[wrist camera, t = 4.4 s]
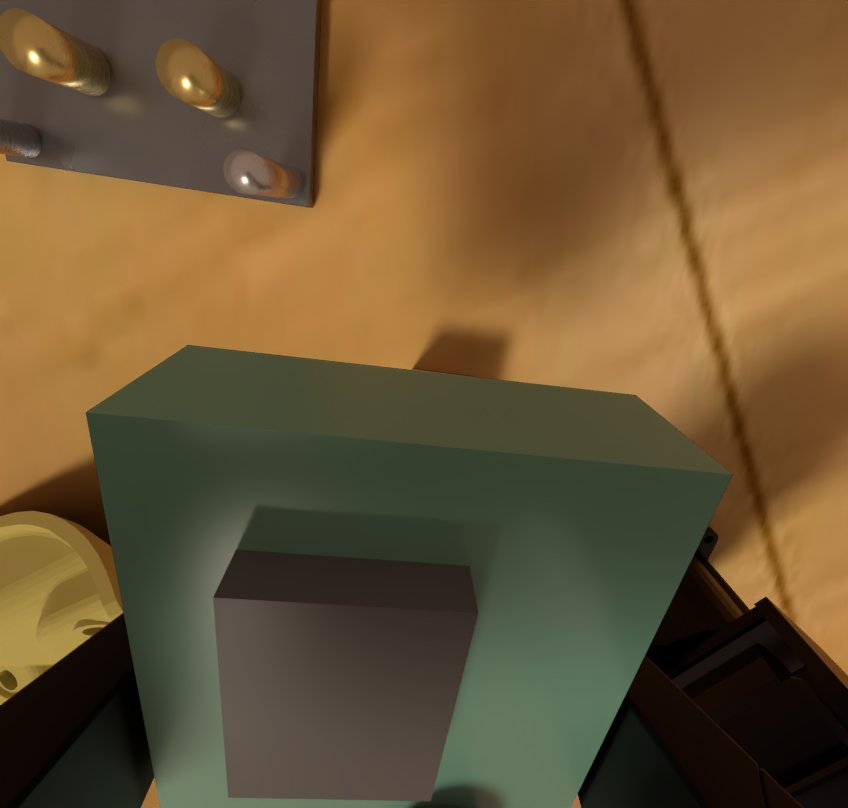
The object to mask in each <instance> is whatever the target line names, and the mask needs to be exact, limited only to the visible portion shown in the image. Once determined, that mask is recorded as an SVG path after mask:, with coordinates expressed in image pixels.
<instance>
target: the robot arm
mask: <svg viewBox="0 0 848 808" xmlns="http://www.w3.org/2000/svg"><path fill="white" fill-rule="evenodd" d="M705 537H706V538H705ZM717 541H718V535H717V534H716V533H715V531H714V530H713V529H712V528H710V527H707V529H706V531H705V533H704V535H703V537H702V539H701V541H700V543H699V546H698V548H697V550H696V552H695V554H694V556H693V558H692V560H691V562H690V564H689V566H688V568H687V570H686V572H685V574H684V576H683V578H682V580H681V582H680V584H679V587H678V589H677V591H676V593H675V595H674V597H673V599H672V601H671V603H670V605H669V607H668V609H667V611H666V613H665V615H664V617H663V619H662V621H661V623H660V625H659V628H658V630H657V632H656V634H655V636H654V638H653V640H652V642H651V644H650V646H649V648H648V650H647V652H646V654H645V656H644V658H643V660H642V662H641V664H640V666H639V669H638V671H637V673H636V675H635V677H634V679H633V681H632V683H631V685H630V687H629V689H628V691H627V693H626V695H625V697H624V699H623V701H622V703H621V705H620V707H619V710H618V712H617V714H616V716H615V718H614V720H613V722H612V724H611V726H610V728H609V730H608V732H607V734H606V736H605V738H604V740H603V742H602V744H601V746H600V748H599V751H598V753H597V755H596V757H595V759H594V761H593V763H592V765H591V767H590V769H589V771H588V773H587V775H586V777H585V779H584V781H583V783H582V785H581V787H580V789H579V792H578V797H579V800H580V804H581V808H848V676H847V675H846V674H845V672H844V671H843V670H842V669H841V668H840V667H839V666H838V665H837V664H836V663H835V662H834V661H833V660H832V659H831V658H830V657H829V656H828V655H827V654H826V653H825V652H824V651H823V650H822V649H821V648H820V647H819V646H818V645H817V644H816V643H815V642H814V641H813V640H812V639H811V638H810V637H809V636H808V635H806V634H805V633H804V632H803V631H802V630H801V629H800V628H799V627H798V626H797V625H796V624H795V623H794V622H793V621H792V620H790V619H789V618H788V617H787V616H786V615H785V614H784V613H783V612H782V611H781V610H780V609H779V608H778V607H777V606H776V605H775V604H773V603H772V602H771V601H770V600H769V599H768V598H767V597H765V598H763V599H761V600H760V601H758V602H757V603H755V604H754V605H755V606H756V607H754V608H753V609H751V610H750V609H749V608H748V607H747V606H746V605H745V604H744V602H743V601H742V600H741V599H740V598H739V597H738V595H737V594H736V593H735V592H734V591H733V590H732V588H731V587H730V586H729V585H728V584H727V582H726V581H725V580H724V579H723V578H722V577H721V575H720V574H719V573H718V572H717V571H716V570H715V568H714V567H713V566H712V565H711V564H710V563H709V561H708V558H709V556H710V554H711V552H712V551H713V549H714V547H715V545H716V543H717ZM153 779H154V772H153V766H152V761H151V756H150V751H149V745H148V740H147V735H146V729H145V724H144V719H143V713H142V708H141V703H140V697H139V692H138V687H137V682H136V676H135V671H134V666H133V660H132V655H131V650H130V644H129V639H128V634H127V628H126V623H125V618H124V613H122V614H120V615H119V616H118V617H116V618H115V619H114V620H112V621H111V622H110V623H109V624H107V625H106V626H105V627H103V628H102V629H101V630H99V631H98V632H97V633H95V634H94V635H93V636H91V637H90V638H89V639H87V640H86V641H85V642H83V643H82V644H81V645H79V646H78V647H77V648H75V649H74V650H73V651H71V652H70V653H69V654H67V655H66V656H65V657H63V658H62V659H61V660H59V661H58V662H57V663H55V664H54V665H53V666H51V667H50V668H49V669H48V670H46V671H45V672H44V673H42V674H41V675H40V676H38V677H37V678H36V679H34V680H33V681H32V682H30V683H29V684H28V685H26V686H25V687H24V688H22V689H21V690H20V691H18V692H17V693H16V694H14V695H13V696H12V697H10V698H9V699H8V700H6V701H5V702H4V703H2V704H1V705H0V808H141V806H142V803H143V801H144V799H145V797H146V794H147V792H148V790H149V788H150V785H151V783H152V781H153Z"/></svg>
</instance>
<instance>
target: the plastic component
mask: <svg viewBox="0 0 848 808" xmlns="http://www.w3.org/2000/svg"><path fill="white" fill-rule="evenodd" d="M122 613H123V607H122V602H121V597H120V591H119V586H118V581H117V575H116V570H115V565H114V559H113V554H112V549H111V546H110V545H108V544H107V543H105V542H104V541H103V540H101V539H100V538H98V537H97V536H96V535H94V534H93V533H92V532H90V531H89V530H87V529H86V528H84V527H82V526H81V525H79V524H77V523H74V522H72V521H69V520H67V519H64V518H61V517H58V516H55V515H52V514H48V513H42V512H37V511H24V512H14V513H10V514H7V515H3V516H0V705H1V704H2V703H4V702H5V701H6V700H8V699H9V698H10V697H12V696H13V695H14V694H16V693H17V692H18V691H20V690H21V689H22V688H24V687H25V686H26V685H28V684H29V683H30V682H32V681H33V680H34V679H36V678H37V677H38V676H40V675H41V674H42V673H44V672H45V671H46V670H48V669H49V668H50V667H51V666H53V665H54V664H55V663H57V662H58V661H59V660H61V659H62V658H63V657H65V656H66V655H67V654H69V653H70V652H71V651H73V650H74V649H75V648H77V647H78V646H79V645H81V644H82V643H83V642H85V641H86V640H87V639H89V638H90V637H91V636H93V635H94V634H95V633H97V632H98V631H99V630H101V629H102V628H103V627H105V626H106V625H107V624H109V623H110V622H111V621H112V620H114V619H115V618H116V617H118V616H119V615H120V614H122Z"/></svg>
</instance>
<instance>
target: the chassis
mask: <svg viewBox="0 0 848 808" xmlns="http://www.w3.org/2000/svg"><path fill="white" fill-rule="evenodd" d="M321 6H322V0H0V154H5V155H6V159H7V161H11V162H18V163H24V164H31V165H37V166H44V167H50V168H57V169H63V170H70V171H76V172H83V173H89V174H95V175H102V176H108V177H115V178H121V179H128V180H134V181H141V182H147V183H154V184H160V185H167V186H173V187H179V188H186V189H192V190H199V191H205V192H212V193H218V194H225V195H231V196H238V197H244V198H251V199H257V200H264V201H270V202H276V203H283V204H289V205H296V206H302V207H309V208H313V197H314V173H315V149H316V125H317V101H318V78H319V54H320V30H321Z"/></svg>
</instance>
